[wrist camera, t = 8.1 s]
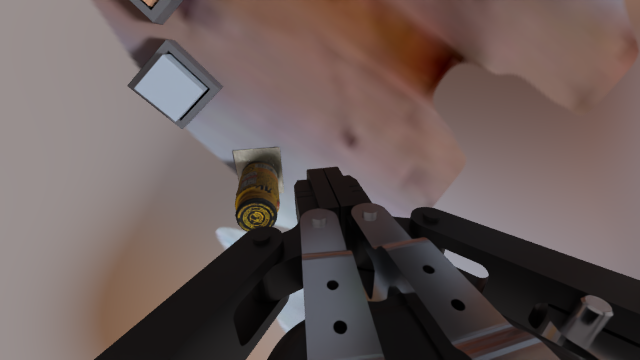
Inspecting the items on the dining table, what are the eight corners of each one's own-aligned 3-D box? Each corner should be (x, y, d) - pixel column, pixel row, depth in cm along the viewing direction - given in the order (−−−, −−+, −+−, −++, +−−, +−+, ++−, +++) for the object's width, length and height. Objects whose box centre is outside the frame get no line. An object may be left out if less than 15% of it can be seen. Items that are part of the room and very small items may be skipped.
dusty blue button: (171, 54, 32) (162, 54, 29) (208, 88, 34) (203, 91, 31) (144, 85, 33) (134, 88, 30) (182, 116, 35) (175, 121, 32)
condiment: (241, 196, 44) (233, 242, 34) (233, 150, 41) (220, 185, 30) (284, 192, 46) (288, 235, 35) (279, 146, 42) (283, 179, 31)
